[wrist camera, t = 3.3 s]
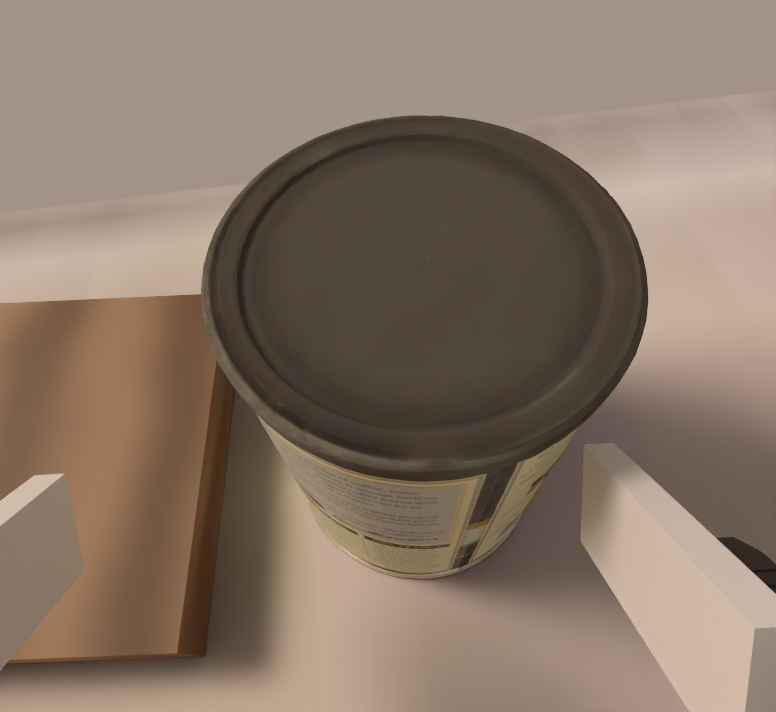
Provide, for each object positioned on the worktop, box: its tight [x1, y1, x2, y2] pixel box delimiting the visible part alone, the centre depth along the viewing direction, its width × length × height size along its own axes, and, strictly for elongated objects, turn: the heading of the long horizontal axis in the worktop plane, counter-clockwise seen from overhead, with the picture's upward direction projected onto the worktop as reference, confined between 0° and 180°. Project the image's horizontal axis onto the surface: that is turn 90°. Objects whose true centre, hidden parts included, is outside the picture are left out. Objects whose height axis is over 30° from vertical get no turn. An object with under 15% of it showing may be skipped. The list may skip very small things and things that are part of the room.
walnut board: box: [0, 294, 235, 664], centre depth 24 cm, size 15×15×3 cm
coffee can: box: [201, 116, 648, 579], centre depth 19 cm, size 10×10×14 cm
